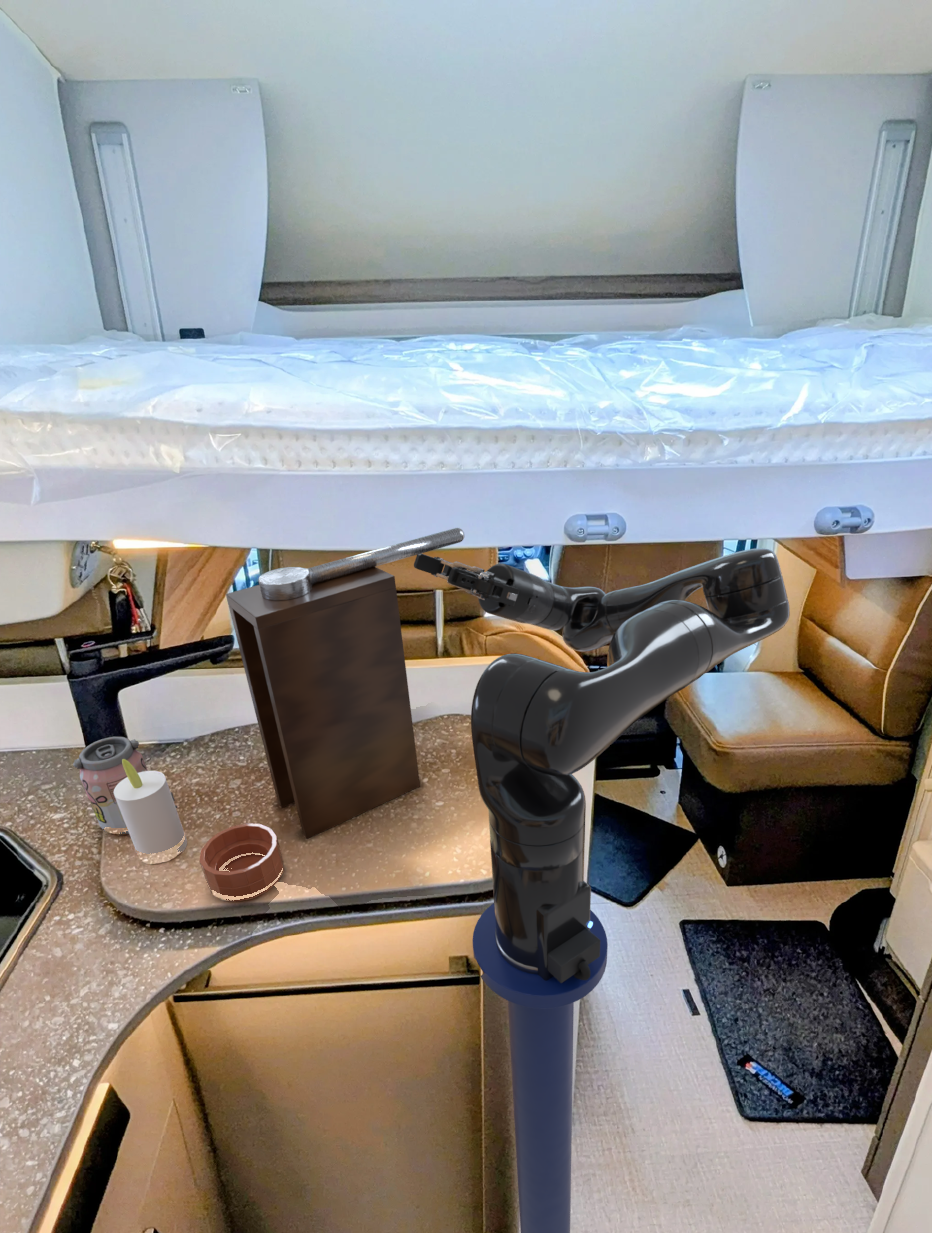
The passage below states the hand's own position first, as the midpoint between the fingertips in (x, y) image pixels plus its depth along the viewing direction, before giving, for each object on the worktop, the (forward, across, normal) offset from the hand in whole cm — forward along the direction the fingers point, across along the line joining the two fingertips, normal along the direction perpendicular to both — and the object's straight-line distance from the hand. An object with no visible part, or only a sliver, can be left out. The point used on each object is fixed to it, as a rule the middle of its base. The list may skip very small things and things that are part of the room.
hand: (433, 567), depth 95 cm
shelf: (+1, 0, +34) cm, 35 cm away
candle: (+22, -6, +47) cm, 52 cm away
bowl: (+16, +7, +43) cm, 47 cm away
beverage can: (+24, -16, +48) cm, 56 cm away
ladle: (+9, 0, +2) cm, 10 cm away
